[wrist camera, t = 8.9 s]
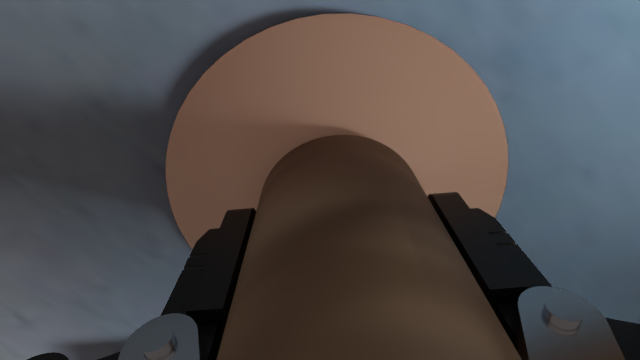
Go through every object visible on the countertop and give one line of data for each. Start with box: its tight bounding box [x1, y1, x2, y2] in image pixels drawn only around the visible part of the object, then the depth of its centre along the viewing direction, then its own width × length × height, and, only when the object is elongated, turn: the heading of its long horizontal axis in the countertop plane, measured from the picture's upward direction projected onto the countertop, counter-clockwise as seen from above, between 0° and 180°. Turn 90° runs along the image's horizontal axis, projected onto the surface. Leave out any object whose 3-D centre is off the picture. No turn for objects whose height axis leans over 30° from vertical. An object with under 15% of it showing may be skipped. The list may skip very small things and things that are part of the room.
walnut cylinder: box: [216, 135, 522, 360], centre depth 8 cm, size 5×5×7 cm
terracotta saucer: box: [165, 13, 508, 250], centre depth 11 cm, size 11×11×1 cm
